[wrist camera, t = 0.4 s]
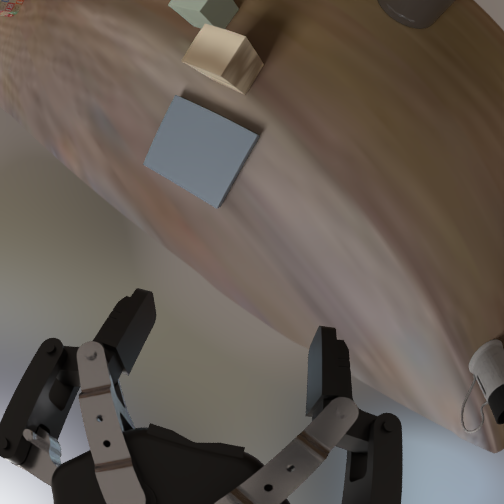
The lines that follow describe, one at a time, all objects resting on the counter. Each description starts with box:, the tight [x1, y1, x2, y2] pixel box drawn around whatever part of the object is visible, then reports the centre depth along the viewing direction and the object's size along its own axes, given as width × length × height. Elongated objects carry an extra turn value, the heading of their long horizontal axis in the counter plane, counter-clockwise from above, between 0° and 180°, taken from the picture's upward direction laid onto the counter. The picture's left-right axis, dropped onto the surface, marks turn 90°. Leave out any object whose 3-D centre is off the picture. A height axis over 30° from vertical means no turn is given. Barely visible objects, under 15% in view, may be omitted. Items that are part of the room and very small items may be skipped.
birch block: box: [182, 24, 264, 95], centre depth 26 cm, size 5×5×10 cm
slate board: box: [143, 95, 260, 208], centre depth 35 cm, size 11×13×2 cm
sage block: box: [168, 0, 239, 29], centre depth 25 cm, size 5×5×8 cm
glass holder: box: [461, 339, 504, 433], centre depth 30 cm, size 9×14×15 cm, turn 136°
